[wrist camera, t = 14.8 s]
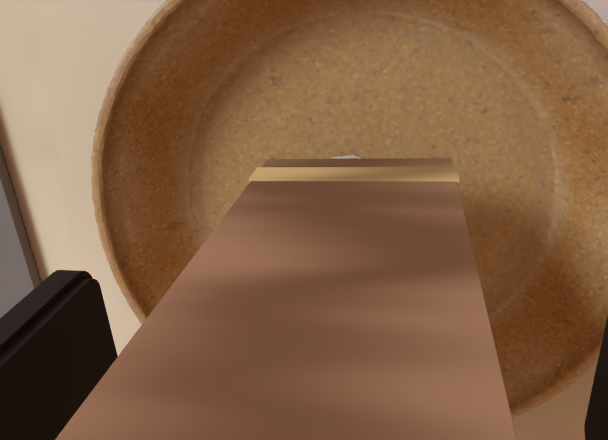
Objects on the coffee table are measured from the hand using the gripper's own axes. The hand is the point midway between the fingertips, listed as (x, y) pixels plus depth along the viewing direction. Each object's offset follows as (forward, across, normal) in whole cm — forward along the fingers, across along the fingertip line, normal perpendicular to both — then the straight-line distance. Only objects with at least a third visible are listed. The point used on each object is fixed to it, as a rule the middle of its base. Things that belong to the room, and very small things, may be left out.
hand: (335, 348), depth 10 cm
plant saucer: (+7, 0, 0) cm, 7 cm away
